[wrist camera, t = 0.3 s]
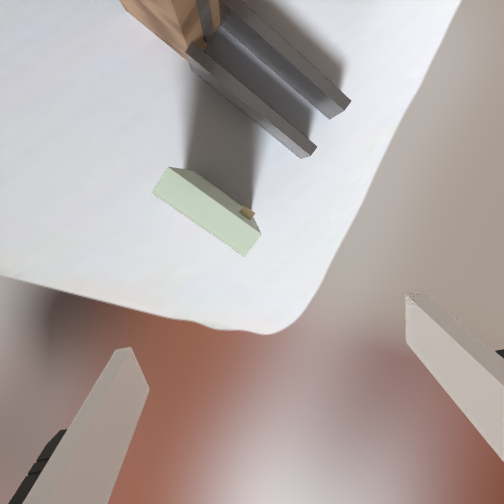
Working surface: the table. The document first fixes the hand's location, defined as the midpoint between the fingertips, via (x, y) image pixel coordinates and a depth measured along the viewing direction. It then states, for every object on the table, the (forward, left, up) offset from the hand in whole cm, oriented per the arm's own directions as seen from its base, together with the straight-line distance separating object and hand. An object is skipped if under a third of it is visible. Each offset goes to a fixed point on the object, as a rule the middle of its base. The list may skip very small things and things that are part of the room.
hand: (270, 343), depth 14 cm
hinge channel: (-16, +8, -26) cm, 32 cm away
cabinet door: (-6, -2, -26) cm, 27 cm away
